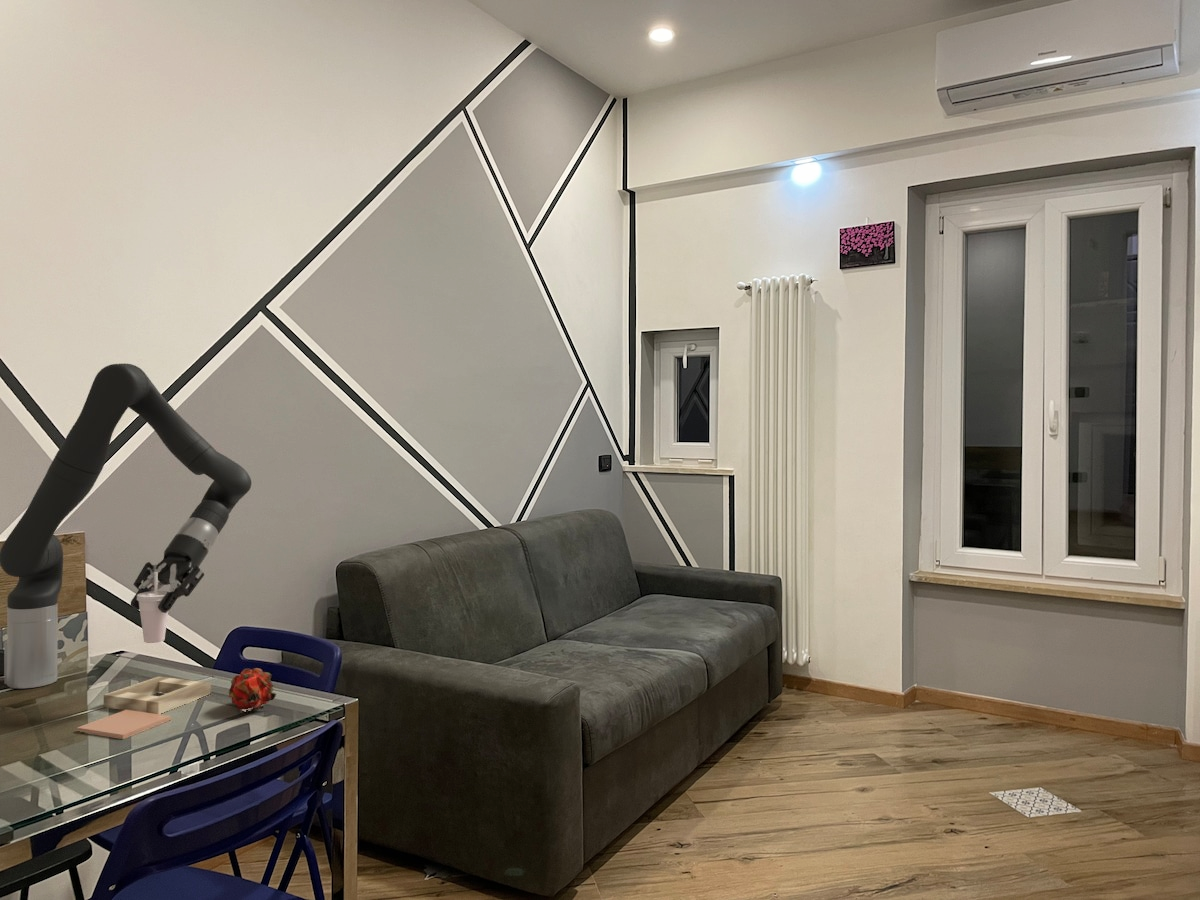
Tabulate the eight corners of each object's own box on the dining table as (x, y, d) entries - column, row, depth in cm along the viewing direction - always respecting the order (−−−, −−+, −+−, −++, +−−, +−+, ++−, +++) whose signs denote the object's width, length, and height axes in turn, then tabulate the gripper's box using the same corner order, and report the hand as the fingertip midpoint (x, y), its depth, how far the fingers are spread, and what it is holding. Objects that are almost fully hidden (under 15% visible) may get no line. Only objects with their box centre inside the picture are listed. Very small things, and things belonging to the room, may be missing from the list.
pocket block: (103, 707, 174) (103, 694, 173) (158, 687, 187) (158, 676, 187) (158, 715, 169) (158, 702, 169) (210, 694, 183) (210, 683, 182)
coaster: (77, 731, 159) (77, 727, 159) (126, 713, 170) (126, 709, 170) (123, 739, 156) (123, 734, 156) (170, 720, 166) (170, 716, 166)
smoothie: (178, 637, 178) (178, 570, 178) (159, 645, 172) (159, 575, 171) (148, 636, 179) (148, 569, 178) (129, 644, 172) (129, 574, 172)
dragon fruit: (253, 705, 181) (256, 731, 170) (218, 686, 177) (219, 712, 167) (279, 672, 182) (284, 696, 171) (245, 652, 178) (247, 676, 168)
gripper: (155, 531, 184) (108, 595, 173) (210, 534, 180) (166, 601, 169) (174, 552, 189) (130, 616, 178) (228, 556, 185) (186, 622, 174)
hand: (148, 608), depth 173 cm, fingers closed on smoothie, 6 cm apart
